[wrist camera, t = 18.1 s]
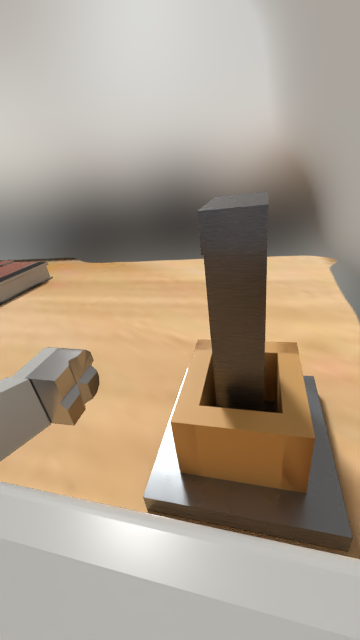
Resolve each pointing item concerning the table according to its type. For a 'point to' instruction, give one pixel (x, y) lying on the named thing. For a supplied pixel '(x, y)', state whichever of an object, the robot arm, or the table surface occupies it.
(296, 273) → the table surface
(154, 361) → the table surface
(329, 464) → the frame on grey plate
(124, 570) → the robot arm
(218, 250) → the tall dark grey post
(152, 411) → the table surface
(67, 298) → the table surface
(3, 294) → the book
